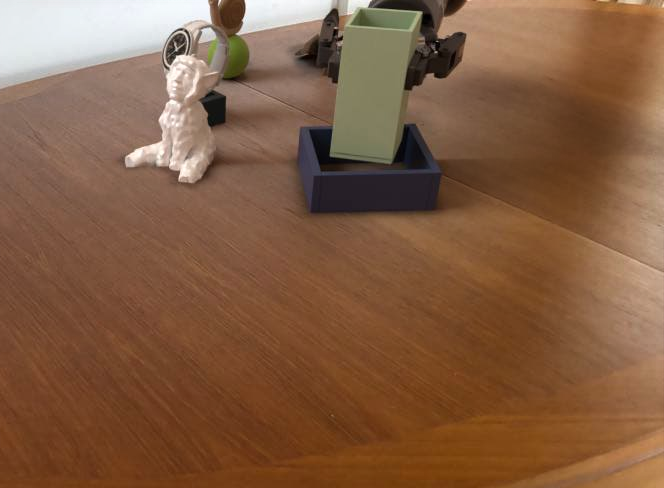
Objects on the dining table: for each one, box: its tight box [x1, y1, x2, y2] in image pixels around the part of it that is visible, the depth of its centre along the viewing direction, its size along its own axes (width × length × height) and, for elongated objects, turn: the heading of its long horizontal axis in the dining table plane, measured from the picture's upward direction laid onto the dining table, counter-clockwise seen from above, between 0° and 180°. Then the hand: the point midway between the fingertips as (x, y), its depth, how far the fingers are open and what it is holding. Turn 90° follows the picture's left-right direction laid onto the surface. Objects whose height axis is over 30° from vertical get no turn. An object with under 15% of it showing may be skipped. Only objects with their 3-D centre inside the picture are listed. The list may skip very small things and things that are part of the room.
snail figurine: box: [207, 0, 250, 79], centre depth 113 cm, size 5×6×12 cm
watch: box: [161, 19, 230, 128], centre depth 102 cm, size 6×8×11 cm
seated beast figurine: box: [124, 55, 219, 184], centre depth 91 cm, size 10×9×12 cm
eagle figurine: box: [294, 7, 340, 76], centre depth 117 cm, size 8×7×9 cm
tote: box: [296, 123, 443, 214], centre depth 87 cm, size 12×12×5 cm
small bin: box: [330, 6, 423, 165], centre depth 82 cm, size 6×6×12 cm
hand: (372, 75), depth 79 cm, fingers closed on small bin, 5 cm apart
